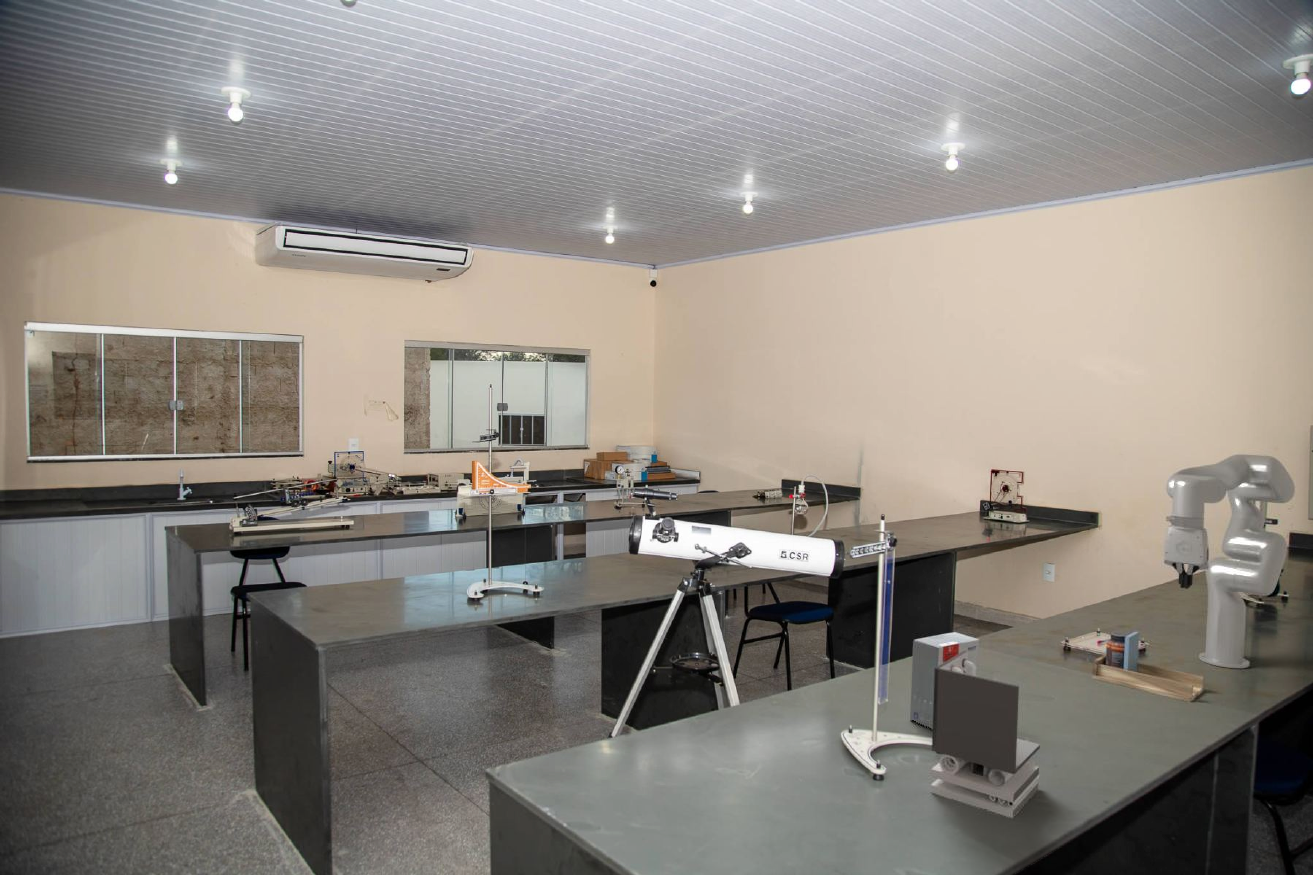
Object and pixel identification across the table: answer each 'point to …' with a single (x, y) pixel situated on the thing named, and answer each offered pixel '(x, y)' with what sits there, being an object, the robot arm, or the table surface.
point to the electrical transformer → (979, 740)
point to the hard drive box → (923, 667)
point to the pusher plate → (1131, 652)
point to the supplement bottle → (1115, 650)
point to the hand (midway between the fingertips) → (1185, 587)
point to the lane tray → (1151, 679)
